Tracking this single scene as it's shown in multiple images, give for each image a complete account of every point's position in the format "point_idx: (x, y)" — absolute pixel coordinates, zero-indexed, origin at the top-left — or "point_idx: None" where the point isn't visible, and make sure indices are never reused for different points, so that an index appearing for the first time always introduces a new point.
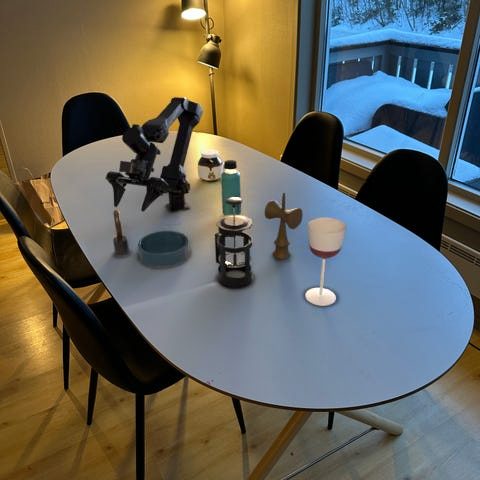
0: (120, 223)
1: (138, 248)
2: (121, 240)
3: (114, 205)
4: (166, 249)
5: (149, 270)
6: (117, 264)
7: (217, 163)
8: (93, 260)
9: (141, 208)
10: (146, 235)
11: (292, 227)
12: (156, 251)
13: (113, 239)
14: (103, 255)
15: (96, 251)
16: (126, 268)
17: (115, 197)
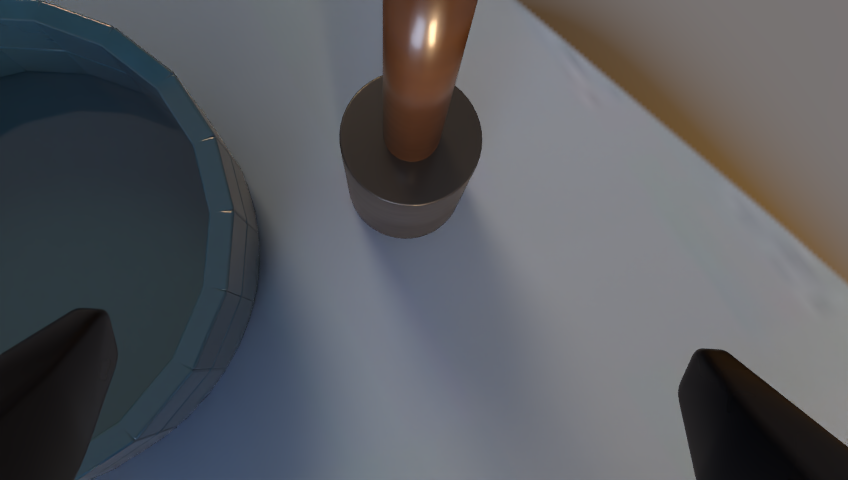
0: (383, 55)
1: (176, 76)
2: (382, 113)
3: (715, 352)
4: (35, 322)
5: None
6: (361, 39)
7: None
8: (567, 46)
9: (86, 327)
10: (203, 328)
11: None
12: (114, 264)
13: (470, 109)
14: (537, 126)
15: (626, 166)
16: (267, 7)
17: (828, 469)
